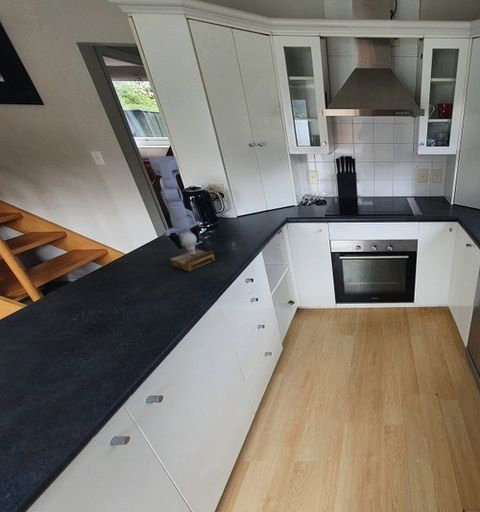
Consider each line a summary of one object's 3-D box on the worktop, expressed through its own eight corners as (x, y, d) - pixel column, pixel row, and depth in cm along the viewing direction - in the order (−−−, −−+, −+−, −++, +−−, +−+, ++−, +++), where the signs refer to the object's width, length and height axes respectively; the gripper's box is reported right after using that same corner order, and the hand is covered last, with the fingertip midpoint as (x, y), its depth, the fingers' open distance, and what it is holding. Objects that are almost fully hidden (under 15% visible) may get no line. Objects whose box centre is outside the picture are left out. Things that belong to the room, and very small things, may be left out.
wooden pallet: (172, 265, 122) (169, 256, 120) (199, 255, 132) (196, 246, 129) (189, 271, 117) (186, 261, 115) (215, 260, 127) (212, 251, 125)
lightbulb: (189, 252, 127) (182, 230, 122) (204, 251, 127) (197, 229, 122) (181, 258, 121) (173, 235, 116) (196, 257, 122) (189, 235, 117)
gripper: (166, 222, 109) (177, 253, 115) (201, 213, 121) (210, 241, 127) (156, 220, 112) (167, 250, 118) (191, 211, 123) (200, 238, 129)
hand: (188, 245), depth 122 cm, fingers open, 7 cm apart
